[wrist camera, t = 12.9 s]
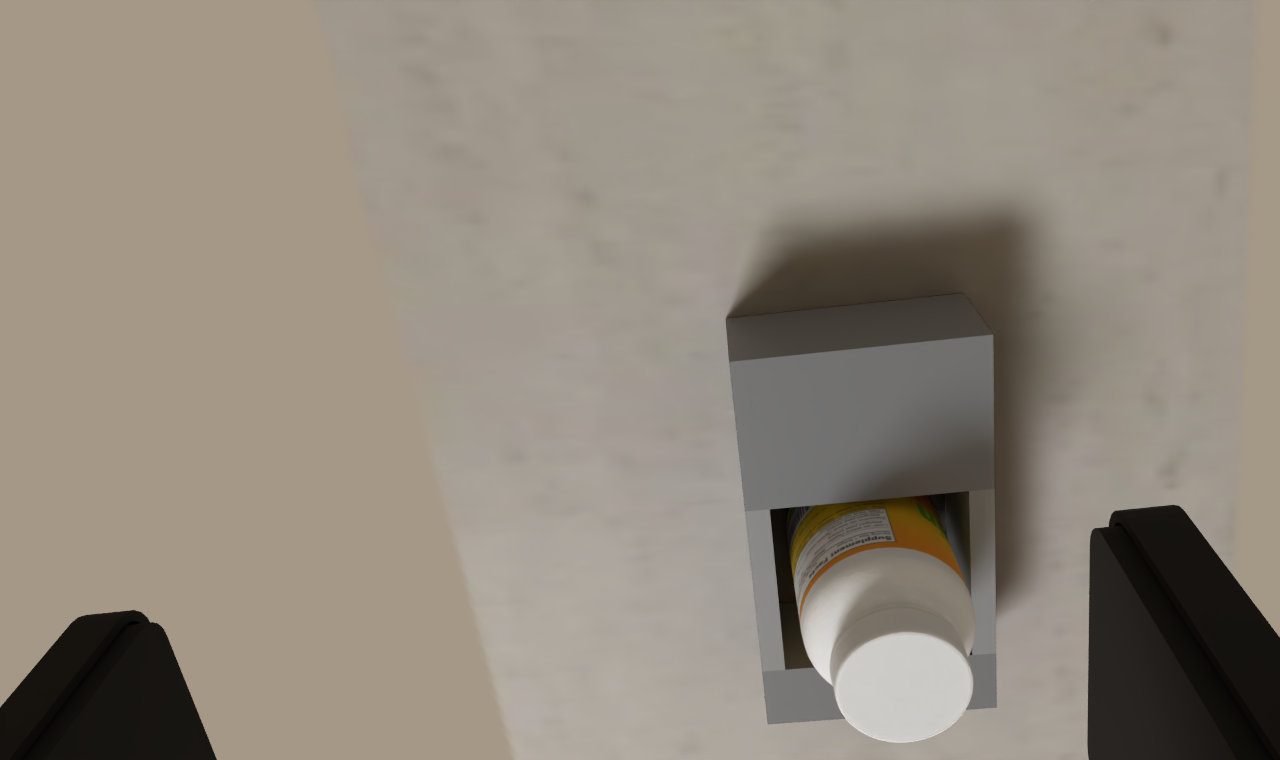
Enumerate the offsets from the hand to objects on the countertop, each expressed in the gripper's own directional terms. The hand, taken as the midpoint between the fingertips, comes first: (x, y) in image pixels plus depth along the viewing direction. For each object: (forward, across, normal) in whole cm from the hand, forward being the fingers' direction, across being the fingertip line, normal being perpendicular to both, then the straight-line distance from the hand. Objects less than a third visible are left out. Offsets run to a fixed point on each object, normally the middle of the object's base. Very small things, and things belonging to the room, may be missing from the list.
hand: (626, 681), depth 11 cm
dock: (+26, -4, +14) cm, 30 cm away
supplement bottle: (+27, -4, +15) cm, 31 cm away
